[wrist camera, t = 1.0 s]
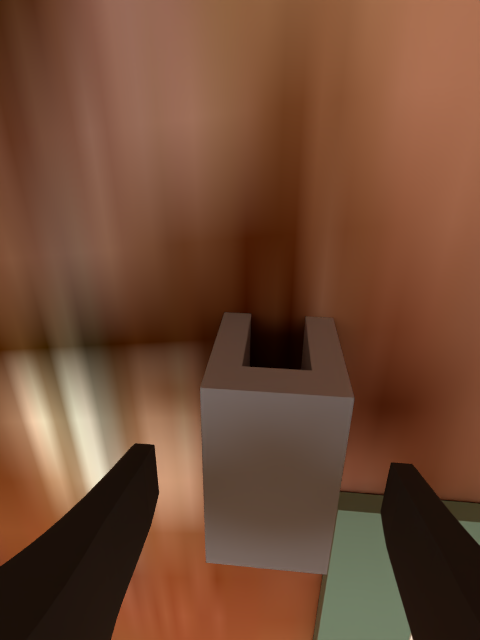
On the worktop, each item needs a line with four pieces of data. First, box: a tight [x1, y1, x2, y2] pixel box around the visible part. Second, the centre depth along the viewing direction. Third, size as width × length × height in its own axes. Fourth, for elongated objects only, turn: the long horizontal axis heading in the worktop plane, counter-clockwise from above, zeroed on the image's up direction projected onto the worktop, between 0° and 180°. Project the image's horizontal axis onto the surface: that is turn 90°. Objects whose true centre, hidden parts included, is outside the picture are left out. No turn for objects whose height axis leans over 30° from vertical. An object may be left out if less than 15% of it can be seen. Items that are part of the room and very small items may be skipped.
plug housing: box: [200, 312, 354, 575], centre depth 14 cm, size 4×7×5 cm, turn 179°
